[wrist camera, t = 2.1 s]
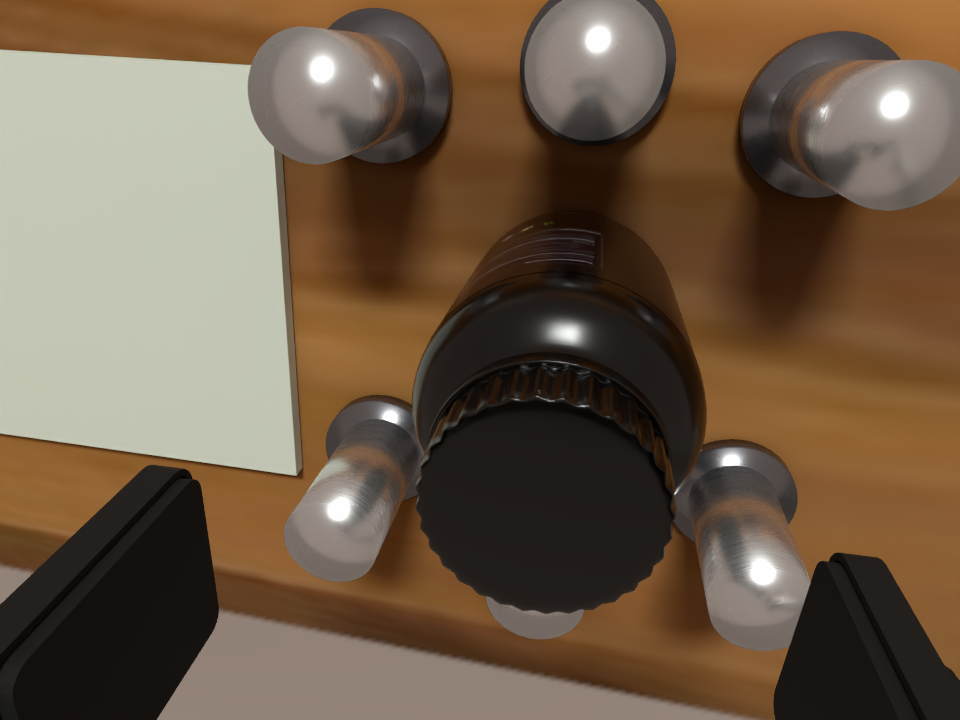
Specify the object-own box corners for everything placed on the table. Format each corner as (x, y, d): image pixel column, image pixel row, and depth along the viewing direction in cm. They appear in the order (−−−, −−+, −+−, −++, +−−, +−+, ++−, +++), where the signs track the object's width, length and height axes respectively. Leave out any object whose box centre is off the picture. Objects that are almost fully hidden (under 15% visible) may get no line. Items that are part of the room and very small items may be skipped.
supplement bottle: (700, 361, 23) (785, 624, 12) (516, 418, 25) (450, 688, 14) (633, 170, 21) (664, 286, 10) (438, 249, 23) (294, 416, 12)
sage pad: (276, 66, 22) (268, 67, 21) (302, 467, 28) (296, 475, 27) (-136, 41, 24) (-153, 41, 23) (-26, 421, 30) (-38, 427, 29)
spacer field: (937, -6, 18) (1080, -33, 13) (771, 569, 26) (815, 703, 21) (311, -32, 20) (204, -65, 15) (334, 505, 28) (270, 610, 23)
